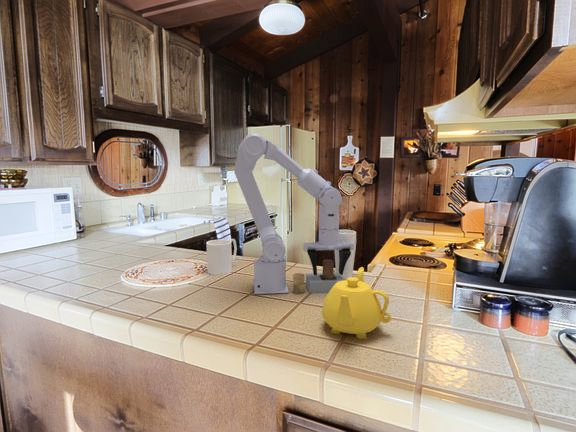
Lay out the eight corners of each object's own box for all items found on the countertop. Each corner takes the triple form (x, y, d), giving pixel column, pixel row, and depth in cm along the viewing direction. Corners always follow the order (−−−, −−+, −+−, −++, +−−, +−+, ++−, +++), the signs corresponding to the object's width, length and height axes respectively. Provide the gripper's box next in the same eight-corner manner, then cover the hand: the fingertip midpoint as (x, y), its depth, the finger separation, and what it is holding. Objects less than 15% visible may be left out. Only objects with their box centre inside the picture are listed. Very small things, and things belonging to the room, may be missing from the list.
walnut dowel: (323, 289, 99) (323, 262, 98) (321, 285, 102) (322, 259, 101) (334, 289, 99) (334, 262, 98) (332, 285, 102) (332, 259, 101)
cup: (244, 267, 120) (244, 239, 118) (218, 276, 110) (217, 246, 109) (228, 263, 125) (228, 236, 123) (202, 271, 115) (201, 242, 114)
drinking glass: (354, 281, 105) (356, 234, 103) (332, 280, 107) (333, 233, 104) (355, 274, 112) (356, 229, 110) (334, 273, 113) (335, 229, 111)
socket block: (309, 292, 96) (309, 282, 96) (305, 283, 104) (305, 273, 104) (344, 291, 97) (344, 281, 97) (337, 282, 105) (338, 272, 105)
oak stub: (293, 294, 95) (293, 277, 95) (292, 290, 98) (292, 273, 98) (305, 293, 96) (305, 276, 95) (303, 289, 99) (303, 273, 98)
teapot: (384, 360, 63) (387, 301, 62) (308, 344, 69) (309, 289, 67) (394, 316, 82) (397, 269, 80) (334, 306, 87) (335, 262, 86)
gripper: (305, 231, 94) (305, 279, 96) (357, 230, 95) (356, 277, 97) (302, 226, 100) (302, 271, 103) (350, 226, 102) (349, 270, 104)
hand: (328, 274), depth 100 cm, fingers open, 7 cm apart
